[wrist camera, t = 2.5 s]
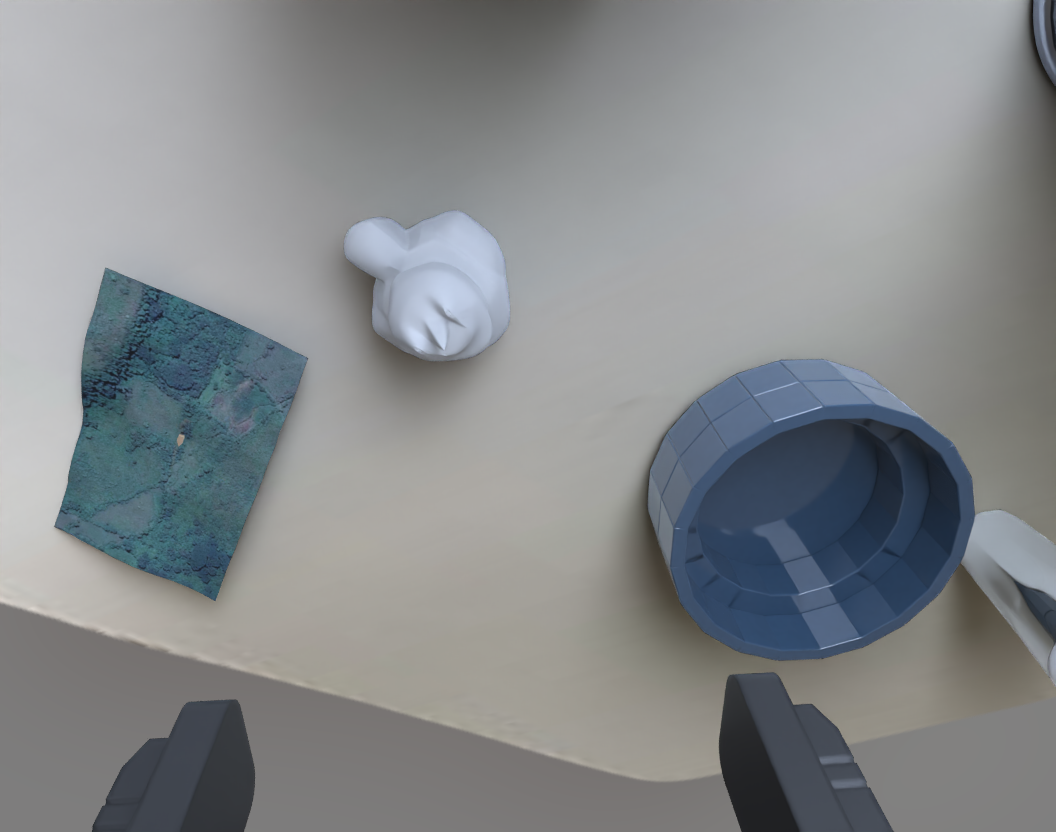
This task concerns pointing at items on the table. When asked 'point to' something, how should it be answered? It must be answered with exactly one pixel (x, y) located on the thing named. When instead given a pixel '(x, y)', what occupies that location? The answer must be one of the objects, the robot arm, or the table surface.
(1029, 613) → the milkshake
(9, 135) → the table surface
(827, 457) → the bowl
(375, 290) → the rubber duck
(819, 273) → the table surface
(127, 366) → the terrain model
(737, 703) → the robot arm
